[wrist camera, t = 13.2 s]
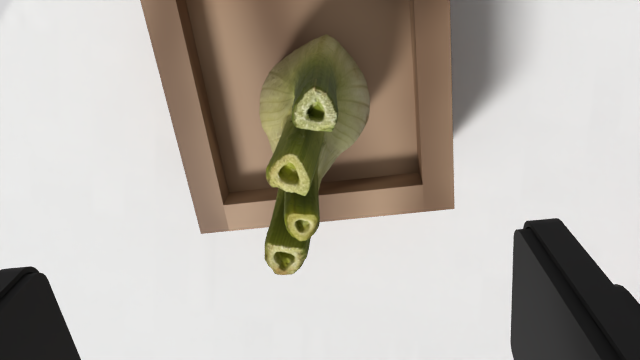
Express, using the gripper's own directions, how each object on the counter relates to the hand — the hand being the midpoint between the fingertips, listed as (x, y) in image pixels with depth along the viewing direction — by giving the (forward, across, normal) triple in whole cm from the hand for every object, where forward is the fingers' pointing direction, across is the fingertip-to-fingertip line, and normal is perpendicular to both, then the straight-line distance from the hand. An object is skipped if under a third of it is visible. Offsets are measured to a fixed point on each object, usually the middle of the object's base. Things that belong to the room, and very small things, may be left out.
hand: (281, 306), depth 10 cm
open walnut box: (+21, 0, 0) cm, 21 cm away
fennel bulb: (+16, 0, 0) cm, 16 cm away
